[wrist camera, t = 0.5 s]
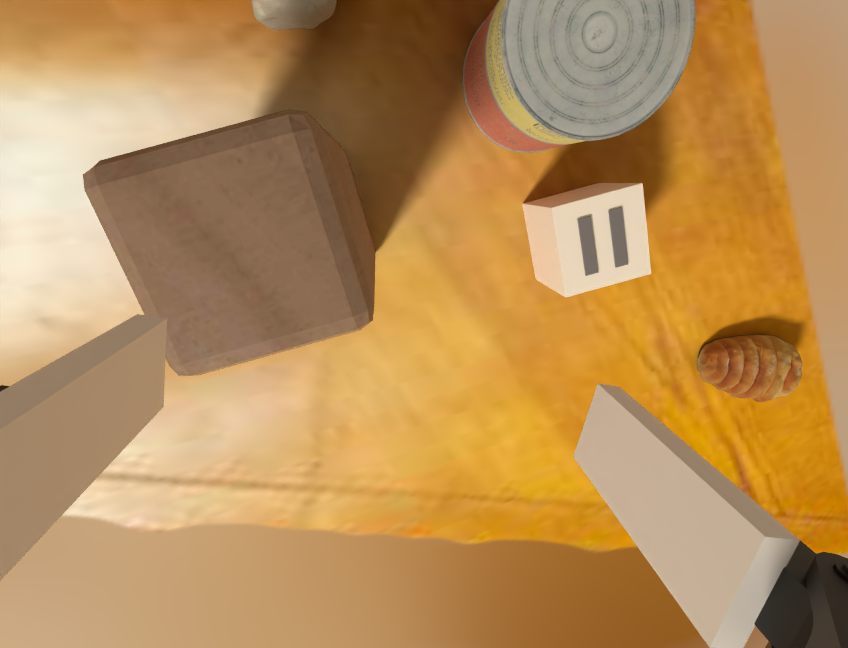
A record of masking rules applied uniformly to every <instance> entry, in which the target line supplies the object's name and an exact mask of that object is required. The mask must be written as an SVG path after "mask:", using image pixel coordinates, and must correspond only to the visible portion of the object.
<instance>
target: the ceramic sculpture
mask: <svg viewBox="0 0 848 648" xmlns="http://www.w3.org/2000/svg"><path fill="white" fill-rule="evenodd" d="M336 3H337V0H251V4H252V7H253V12H254V16H255V18H256V19H257V20H258V21H259V22H260V23H262V24H264V25H265V26H267V27H269V28H271V29H273V30H288V29H295V28H303V29H313V28H315V27H317V26H318V25H319V24H320V23H321V22H323V21H325V20H327V19H329V18H330V17H331V16H332V15H333V13H334V11H335V7H336Z"/></svg>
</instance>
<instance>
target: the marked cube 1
mask: <svg viewBox="0 0 848 648" xmlns="http://www.w3.org/2000/svg"><path fill="white" fill-rule="evenodd" d="M522 205H523V210H524V216H525V221H526V227H527V233H528V238H529V244H530V249H531V255H532V261H533V266H534V272H535V277H536V280H538V281H539V282H541V283H543V284H544V285H546V286H548V287H549V288H551V289H552V290H554V291H556V292H557V293H559V294H561V295H562V296H564V297H569V296H573V295H576V294H580V293H583V292H587V291H591V290H594V289H598V288H602V287H605V286H609V285H612V284H616V283H620V282H623V281H627V280H631V279H634V278H638V277H641V276H645V275H649V274H651V267H650V256H649V246H648V235H647V225H646V214H645V203H644V193H643V183H597V184H593V185H589V186H586V187H582V188H578V189H575V190H571V191H567V192H564V193H560V194H556V195H552V196H549V197H545V198H541V199H538V200H534V201H530V202H527V203H523V204H522Z"/></svg>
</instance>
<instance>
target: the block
mask: <svg viewBox="0 0 848 648" xmlns="http://www.w3.org/2000/svg"><path fill="white" fill-rule="evenodd" d="M83 179H84V188H85V192H86V194H87V196H88V198H89V200H90V202H91V204H92V206H93V208H94V210H95V212H96V214H97V216H98V219H99V221H100V223H101V225H102V227H103V229H104V231H105V233H106V235H107V237H108V239H109V241H110V244H111V246H112V248H113V250H114V252H115V254H116V256H117V258H118V260H119V262H120V264H121V266H122V268H123V271H124V273H125V275H126V277H127V279H128V281H129V283H130V285H131V287H132V289H133V291H134V293H135V295H136V298H137V300H138V302H139V304H140V306H141V308H142V310H143V312H144V314H145V316H152V317H158V318H165V319H167V331H166V355H165V358H166V360H167V362H168V364H169V366H170V367H171V368H172V369H173V370H174V371H175V372H176V373H177V374H178V375H183V376H193V375H201V374H205V373H208V372H212V371H215V370H219V369H223V368H226V367H230V366H233V365H237V364H240V363H244V362H248V361H251V360H255V359H258V358H262V357H266V356H269V355H273V354H276V353H280V352H283V351H287V350H291V349H294V348H298V347H301V346H305V345H308V344H312V343H316V342H319V341H323V340H326V339H330V338H333V337H337V336H341V335H344V334H348V333H351V332H355V331H358V330H361V329H362V328H363V327H365V326H366V325H367V324H369V323H370V322H371V321H373V311H374V290H375V248H374V245H373V241H372V238H371V235H370V231H369V228H368V224H367V221H366V218H365V214H364V211H363V208H362V204H361V201H360V197H359V194H358V191H357V187H356V184H355V180H354V177H353V174H352V170H351V167H350V163H349V160H348V157H347V154H346V152H345V151H344V150H343V149H342V147H341V146H340V145H339V144H338V143H337V142H336V141H335V140H334V139H333V138H332V137H331V136H330V135H329V134H328V133H327V132H326V131H325V130H324V129H323V128H322V127H321V126H320V125H319V124H318V123H317V122H316V121H315V120H314V119H313V118H312V117H311V116H310V115H309V114H308V113H307V112H301V111H294V110H285V111H282V112H278V113H274V114H270V115H267V116H263V117H259V118H256V119H252V120H248V121H245V122H241V123H237V124H234V125H230V126H226V127H223V128H219V129H215V130H211V131H208V132H204V133H200V134H197V135H193V136H189V137H186V138H182V139H178V140H175V141H171V142H167V143H163V144H160V145H156V146H152V147H149V148H145V149H141V150H138V151H134V152H130V153H127V154H123V155H119V156H116V157H112V158H108V159H104V160H101V161H99V162H98V163H97V164H96V165H95V166H94V167H93V168H91V169H90V170H89V171H87V172H86V173H85V174H83Z"/></svg>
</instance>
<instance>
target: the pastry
mask: <svg viewBox="0 0 848 648" xmlns="http://www.w3.org/2000/svg"><path fill="white" fill-rule="evenodd" d="M801 366H802V361H801V358H800V355H799V354H798V352H797V350H796V349H795V347H794V346H793V345H792V344H790V343H787V342H784V341H783V340H781V339H780V338H778V337H776V336H772V335H750V336H749V335H746V336H737V337H731V338H723V339H718V340H715V341H713V342H711V343H709V344H706V345H705V346H704V347H703V348H702V349H701V352H700V355H699V357H698V360H697V367H698V371H699V373H700V374H701V377H702V379H703V381H705V382H707V383H709V384H712V385H713V386H714V387H715V388H717V389H718V390H722V391H725V392H727V393H729V394H730V395H732V396H733V397H738V398H752V399H754V400H755V401H757V402H763V401H768V400H771V399H772V398H777V397H780V396H787V395H789V394H790V393H792V392H793V391H794V389H795V388H796V387H797V385H798V383H799V381H800V379H801V377H802V371H801Z"/></svg>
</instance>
